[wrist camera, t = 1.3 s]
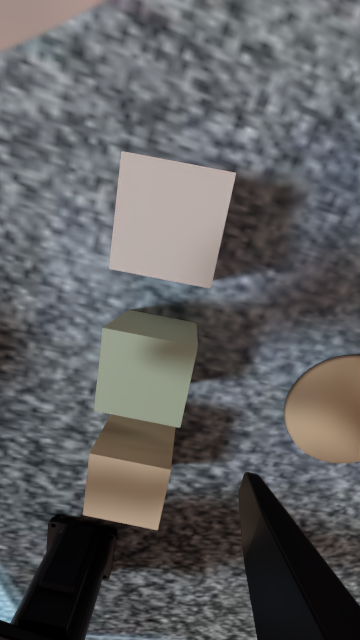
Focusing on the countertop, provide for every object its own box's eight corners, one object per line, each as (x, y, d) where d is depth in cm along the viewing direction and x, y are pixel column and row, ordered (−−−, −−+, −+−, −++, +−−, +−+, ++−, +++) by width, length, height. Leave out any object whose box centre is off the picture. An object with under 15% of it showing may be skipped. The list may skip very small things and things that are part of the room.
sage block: (183, 382, 17) (180, 428, 12) (121, 370, 17) (94, 410, 13) (196, 322, 16) (198, 346, 11) (129, 309, 16) (102, 327, 11)
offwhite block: (204, 282, 15) (210, 288, 11) (135, 268, 16) (109, 268, 11) (221, 205, 14) (236, 172, 9) (145, 190, 14) (121, 151, 9)
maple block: (166, 464, 19) (157, 530, 14) (110, 452, 19) (82, 515, 14) (176, 415, 18) (170, 469, 13) (116, 403, 18) (89, 453, 13)
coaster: (378, 467, 18) (383, 473, 18) (269, 445, 18) (272, 450, 18) (428, 368, 16) (435, 371, 15) (304, 344, 16) (308, 346, 15)
